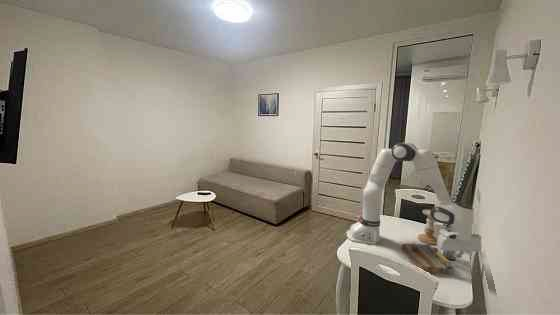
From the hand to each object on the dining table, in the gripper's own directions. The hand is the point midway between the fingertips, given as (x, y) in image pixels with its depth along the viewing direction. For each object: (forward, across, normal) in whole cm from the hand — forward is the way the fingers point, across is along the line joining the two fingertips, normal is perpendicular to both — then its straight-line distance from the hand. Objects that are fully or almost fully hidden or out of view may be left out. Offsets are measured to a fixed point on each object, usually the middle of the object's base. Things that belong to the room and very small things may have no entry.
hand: (457, 257), depth 115 cm
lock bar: (+3, +7, -3) cm, 8 cm away
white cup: (+8, -12, -38) cm, 41 cm away
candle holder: (+8, -3, -31) cm, 32 cm away
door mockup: (+7, +12, -7) cm, 16 cm away
